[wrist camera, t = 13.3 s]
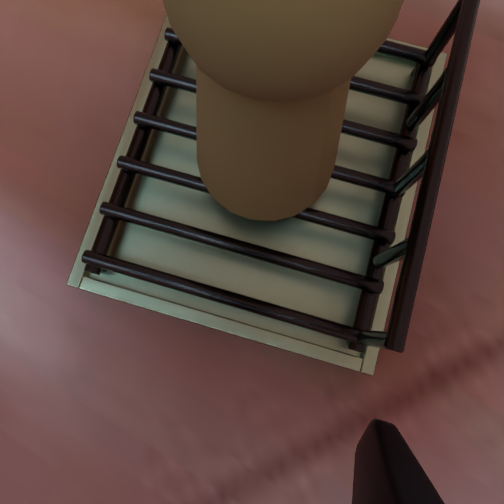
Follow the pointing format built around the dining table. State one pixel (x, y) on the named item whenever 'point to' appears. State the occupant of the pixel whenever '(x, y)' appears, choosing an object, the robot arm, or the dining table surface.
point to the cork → (274, 93)
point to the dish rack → (288, 229)
